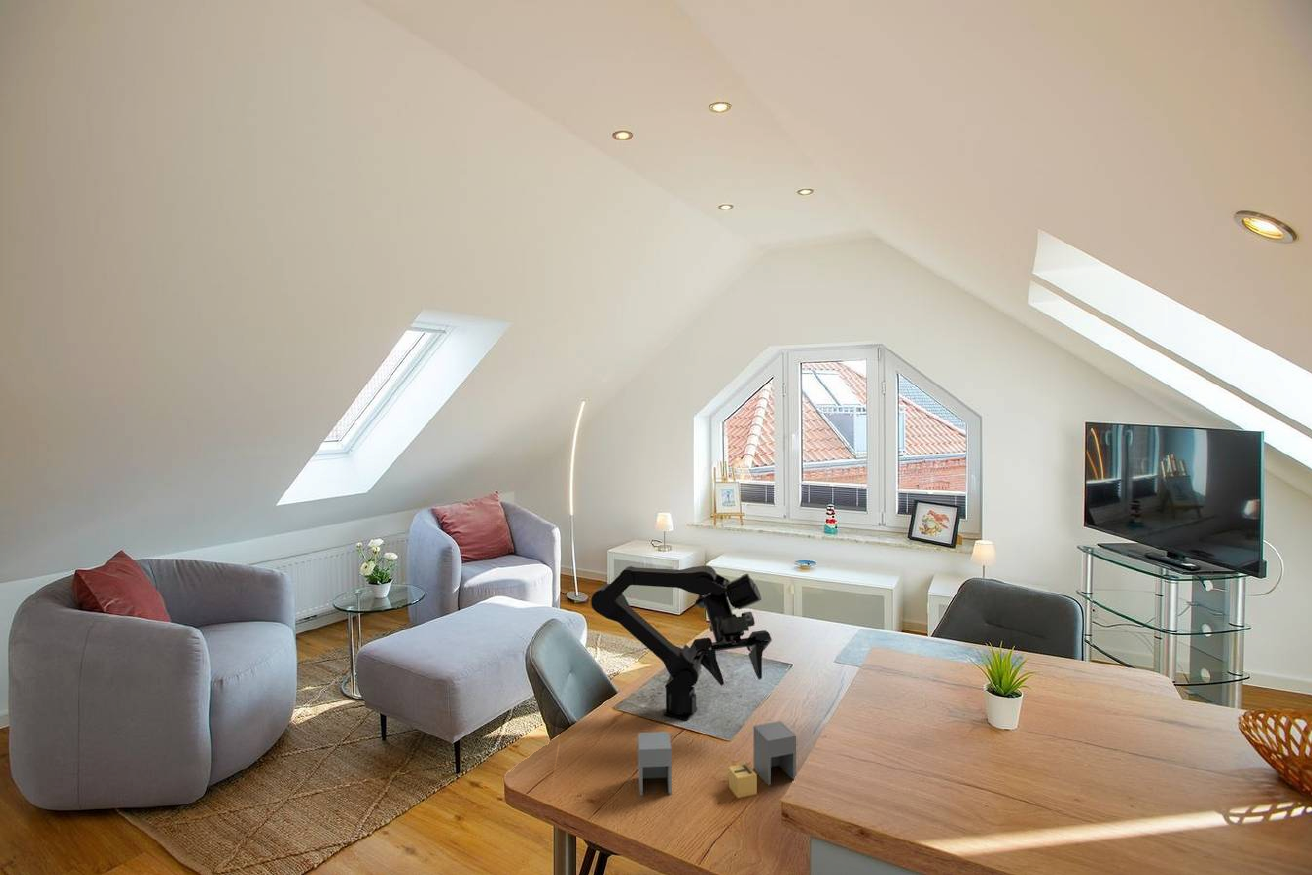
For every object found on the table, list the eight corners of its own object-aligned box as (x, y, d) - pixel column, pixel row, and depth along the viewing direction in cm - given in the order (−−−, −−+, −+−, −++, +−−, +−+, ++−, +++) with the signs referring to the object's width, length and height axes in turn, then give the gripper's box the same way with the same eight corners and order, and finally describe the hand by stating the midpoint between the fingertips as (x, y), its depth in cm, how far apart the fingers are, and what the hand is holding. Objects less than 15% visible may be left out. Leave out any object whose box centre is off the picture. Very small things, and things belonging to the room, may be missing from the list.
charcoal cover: (753, 768, 132) (753, 725, 132) (780, 763, 134) (780, 721, 134) (768, 785, 127) (768, 740, 126) (795, 779, 129) (796, 735, 128)
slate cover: (638, 776, 130) (638, 733, 129) (669, 775, 130) (668, 731, 130) (639, 795, 124) (639, 749, 123) (671, 794, 124) (671, 748, 124)
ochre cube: (728, 786, 126) (728, 766, 126) (747, 782, 128) (747, 762, 128) (737, 798, 123) (737, 777, 122) (756, 794, 124) (756, 773, 124)
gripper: (692, 604, 144) (713, 672, 134) (767, 595, 150) (792, 660, 140) (680, 627, 151) (698, 693, 142) (752, 618, 157) (774, 681, 148)
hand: (741, 681), depth 142 cm, fingers open, 9 cm apart
